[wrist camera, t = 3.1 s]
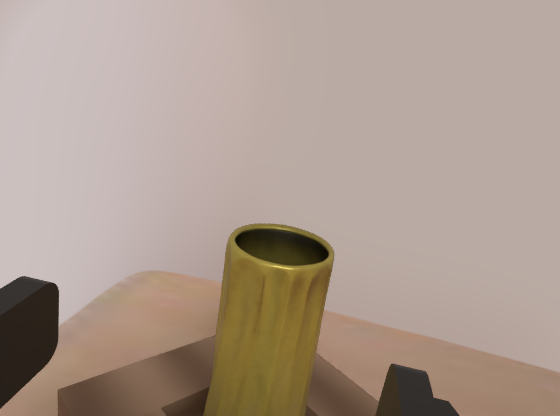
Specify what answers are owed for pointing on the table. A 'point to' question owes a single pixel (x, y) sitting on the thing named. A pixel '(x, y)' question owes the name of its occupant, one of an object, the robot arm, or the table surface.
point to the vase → (268, 321)
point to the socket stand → (195, 388)
